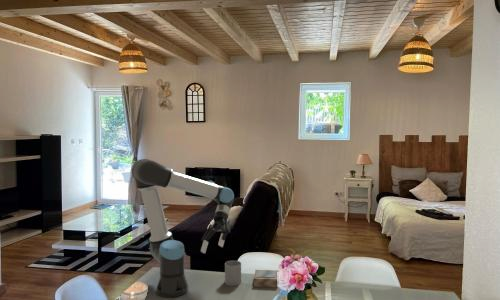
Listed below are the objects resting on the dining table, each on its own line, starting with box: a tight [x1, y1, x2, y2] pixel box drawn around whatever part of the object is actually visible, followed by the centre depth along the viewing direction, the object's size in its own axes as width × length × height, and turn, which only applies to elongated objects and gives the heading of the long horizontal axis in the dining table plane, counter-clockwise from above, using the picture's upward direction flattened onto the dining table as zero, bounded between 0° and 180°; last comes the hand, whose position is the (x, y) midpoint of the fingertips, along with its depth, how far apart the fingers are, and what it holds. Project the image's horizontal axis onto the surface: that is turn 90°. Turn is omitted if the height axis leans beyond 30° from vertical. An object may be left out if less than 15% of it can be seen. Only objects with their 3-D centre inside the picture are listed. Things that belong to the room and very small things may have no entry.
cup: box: [224, 260, 242, 287], centre depth 191 cm, size 8×8×10 cm
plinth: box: [253, 269, 279, 288], centre depth 191 cm, size 12×12×4 cm
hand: (211, 249), depth 186 cm, fingers open, 13 cm apart
